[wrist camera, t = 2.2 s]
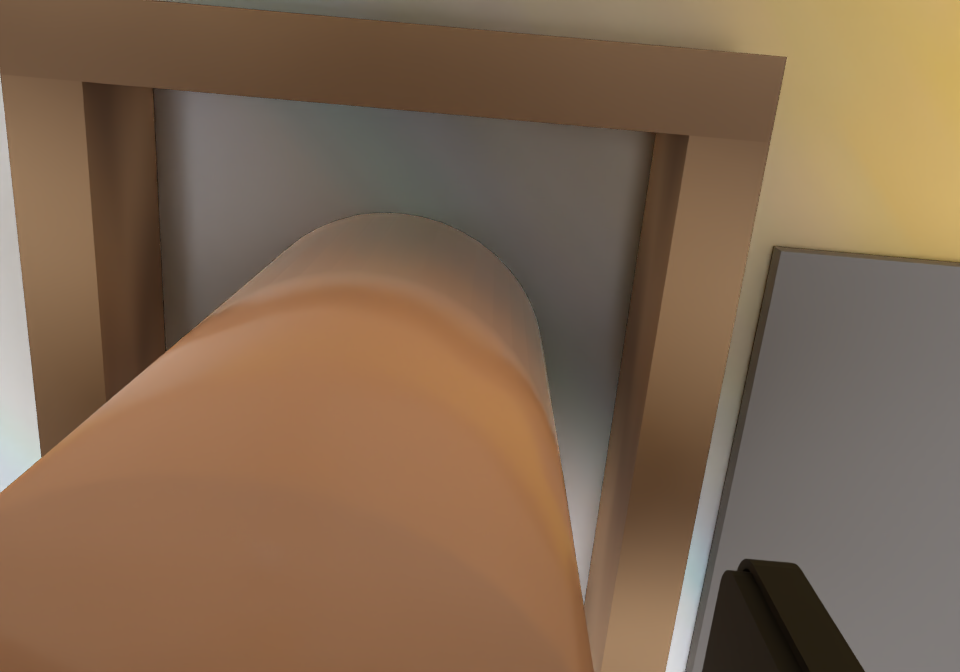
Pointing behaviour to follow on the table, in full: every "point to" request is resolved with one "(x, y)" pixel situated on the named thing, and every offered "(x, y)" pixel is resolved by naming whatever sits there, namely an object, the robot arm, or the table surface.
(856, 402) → the mat
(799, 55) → the table surface
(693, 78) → the brown wooden u-shaped piece
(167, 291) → the table surface
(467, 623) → the pink mug
